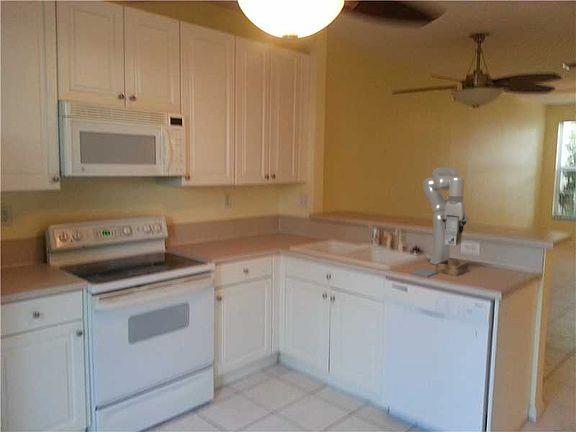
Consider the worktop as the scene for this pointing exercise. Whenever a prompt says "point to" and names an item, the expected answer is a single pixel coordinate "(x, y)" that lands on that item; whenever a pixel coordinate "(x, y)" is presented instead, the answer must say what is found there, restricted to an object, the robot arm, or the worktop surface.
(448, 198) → the robot arm
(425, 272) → the mat
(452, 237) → the coffee box
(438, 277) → the worktop surface
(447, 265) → the holder
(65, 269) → the worktop surface
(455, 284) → the worktop surface
